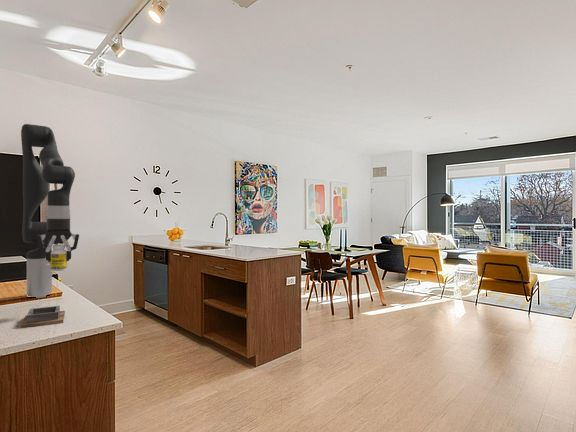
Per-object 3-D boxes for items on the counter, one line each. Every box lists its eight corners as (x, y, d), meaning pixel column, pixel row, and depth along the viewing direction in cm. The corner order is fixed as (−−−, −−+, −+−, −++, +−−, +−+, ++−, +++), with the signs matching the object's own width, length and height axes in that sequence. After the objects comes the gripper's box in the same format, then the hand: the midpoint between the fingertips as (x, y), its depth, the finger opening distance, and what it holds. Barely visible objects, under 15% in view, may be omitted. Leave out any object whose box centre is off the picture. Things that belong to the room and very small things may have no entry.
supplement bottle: (49, 271, 131) (49, 245, 130) (51, 269, 135) (51, 244, 135) (66, 270, 133) (66, 245, 133) (67, 268, 138) (67, 243, 138)
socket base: (25, 317, 126) (25, 308, 126) (64, 313, 132) (64, 304, 132) (20, 328, 116) (20, 317, 115) (63, 322, 122) (63, 312, 121)
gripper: (80, 217, 140) (80, 258, 141) (36, 217, 133) (37, 261, 134) (80, 217, 134) (80, 261, 135) (34, 218, 127) (34, 264, 127)
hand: (58, 261), depth 134 cm, fingers closed on supplement bottle, 5 cm apart
